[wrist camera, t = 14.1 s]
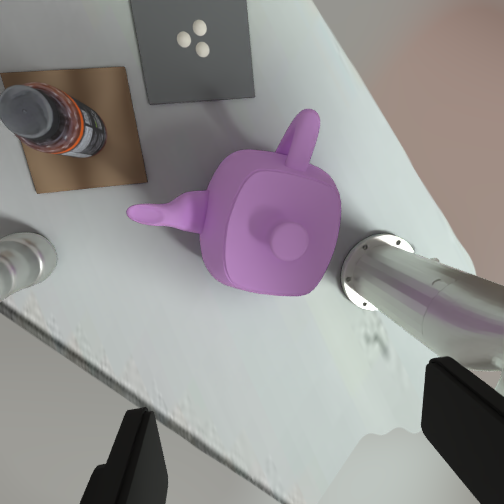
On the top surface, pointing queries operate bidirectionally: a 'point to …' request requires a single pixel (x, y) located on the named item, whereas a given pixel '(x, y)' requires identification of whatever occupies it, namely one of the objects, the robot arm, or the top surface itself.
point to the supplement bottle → (52, 120)
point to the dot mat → (194, 49)
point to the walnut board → (117, 125)
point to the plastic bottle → (24, 262)
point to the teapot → (262, 216)
